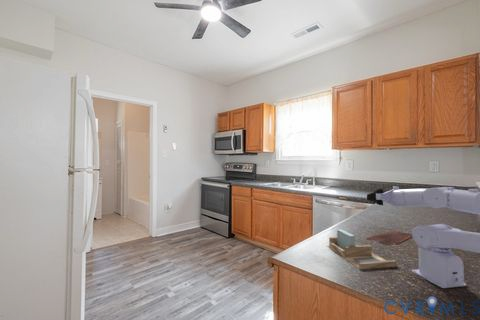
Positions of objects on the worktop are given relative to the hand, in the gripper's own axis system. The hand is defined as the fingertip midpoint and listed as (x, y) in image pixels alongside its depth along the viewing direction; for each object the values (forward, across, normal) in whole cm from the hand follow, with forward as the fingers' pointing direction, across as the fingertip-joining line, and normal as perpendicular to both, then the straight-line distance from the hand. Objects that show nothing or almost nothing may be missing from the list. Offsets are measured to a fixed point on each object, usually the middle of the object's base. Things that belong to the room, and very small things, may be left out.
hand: (375, 197), depth 85 cm
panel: (+5, +11, +21) cm, 24 cm away
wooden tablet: (+13, -20, +18) cm, 30 cm away
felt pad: (-5, +9, +23) cm, 25 cm away
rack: (+1, +9, +22) cm, 24 cm away
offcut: (+6, +6, +20) cm, 22 cm away
